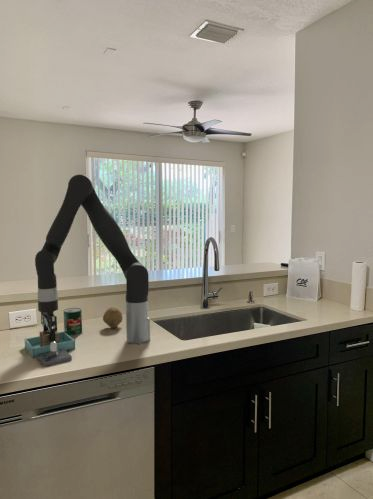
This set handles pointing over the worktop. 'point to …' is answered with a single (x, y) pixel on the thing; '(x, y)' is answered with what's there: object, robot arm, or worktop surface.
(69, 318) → the canned tomato
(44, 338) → the hollow wooden cube
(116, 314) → the natural sponge
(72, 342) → the teal tray
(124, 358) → the worktop surface
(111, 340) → the worktop surface
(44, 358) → the gauge pin stand
